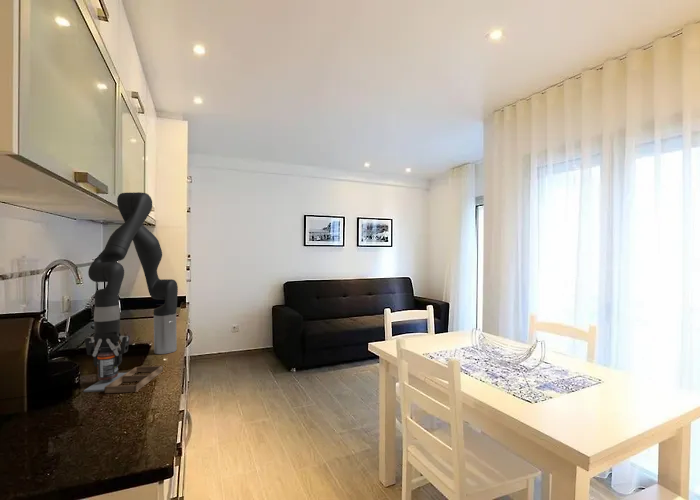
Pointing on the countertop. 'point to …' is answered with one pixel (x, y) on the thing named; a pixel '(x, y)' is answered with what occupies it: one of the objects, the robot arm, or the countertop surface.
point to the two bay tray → (133, 379)
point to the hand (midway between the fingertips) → (107, 365)
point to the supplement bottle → (106, 364)
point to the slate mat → (102, 384)
